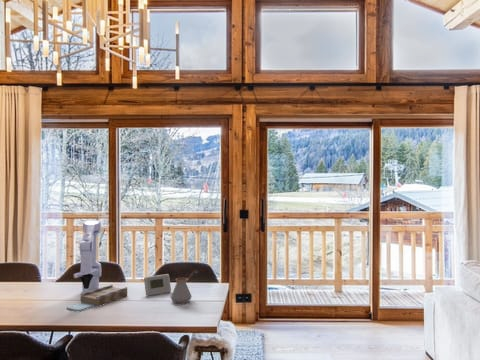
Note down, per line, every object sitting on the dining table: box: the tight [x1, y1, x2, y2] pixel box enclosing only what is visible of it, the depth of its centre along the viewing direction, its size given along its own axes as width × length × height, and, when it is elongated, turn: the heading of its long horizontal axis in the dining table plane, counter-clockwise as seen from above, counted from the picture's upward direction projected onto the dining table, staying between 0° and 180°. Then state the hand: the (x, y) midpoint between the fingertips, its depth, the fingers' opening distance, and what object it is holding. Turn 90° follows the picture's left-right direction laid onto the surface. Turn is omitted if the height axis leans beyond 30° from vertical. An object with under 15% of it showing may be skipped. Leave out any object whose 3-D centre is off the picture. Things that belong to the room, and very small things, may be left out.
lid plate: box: [66, 302, 95, 312], centre depth 207 cm, size 10×9×2 cm
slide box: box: [80, 284, 128, 307], centre depth 222 cm, size 22×13×5 cm, turn 152°
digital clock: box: [143, 273, 172, 297], centre depth 235 cm, size 16×9×11 cm, turn 113°
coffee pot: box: [170, 269, 199, 305], centre depth 222 cm, size 21×12×15 cm, turn 153°
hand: (86, 288), depth 211 cm, fingers closed
